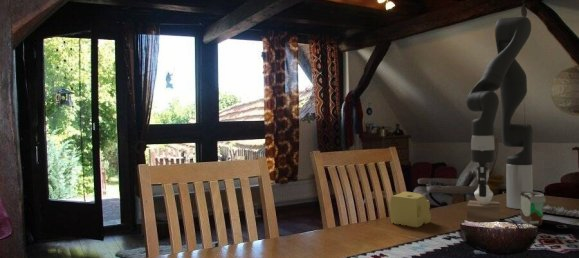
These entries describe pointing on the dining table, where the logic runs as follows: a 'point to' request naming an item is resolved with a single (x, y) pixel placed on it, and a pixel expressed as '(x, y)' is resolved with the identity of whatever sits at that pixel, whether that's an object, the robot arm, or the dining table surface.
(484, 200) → the white vase
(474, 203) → the walnut block
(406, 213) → the cheese
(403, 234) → the dining table surface
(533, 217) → the food container
